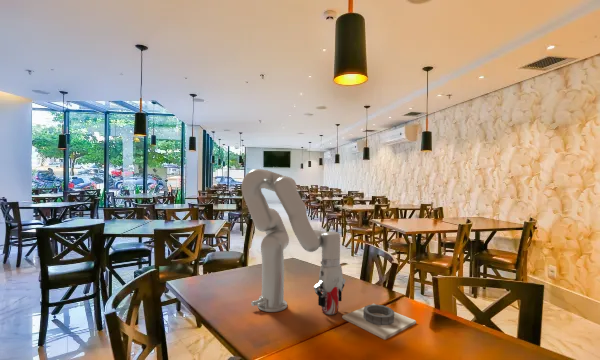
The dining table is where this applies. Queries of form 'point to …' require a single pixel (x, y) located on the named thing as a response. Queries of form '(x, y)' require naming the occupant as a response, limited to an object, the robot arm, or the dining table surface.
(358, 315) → the socket board
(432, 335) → the dining table surface
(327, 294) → the soda can
